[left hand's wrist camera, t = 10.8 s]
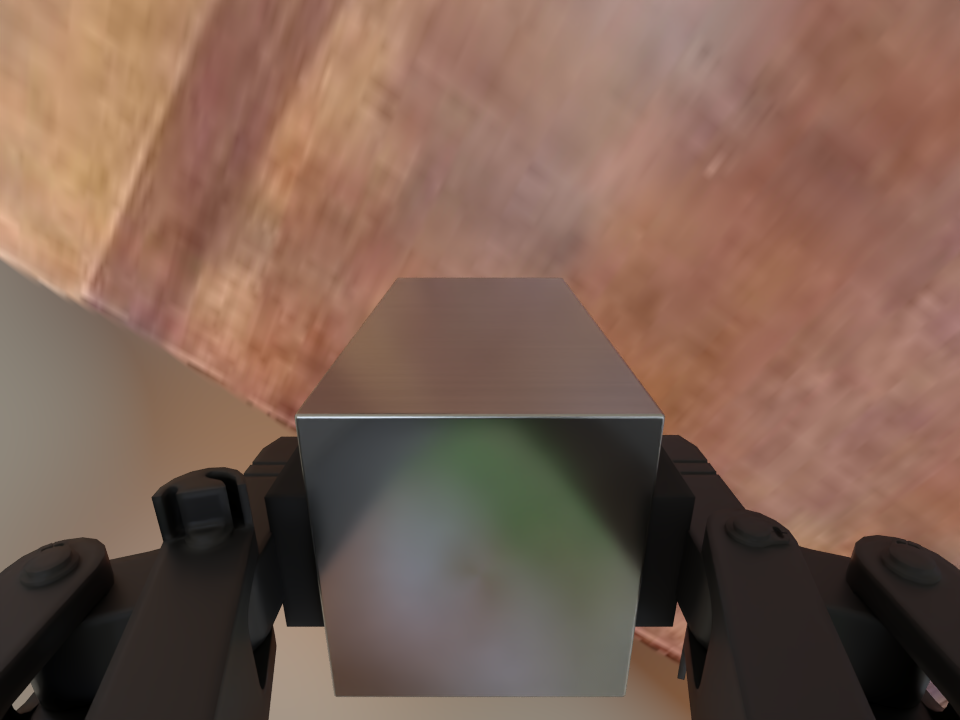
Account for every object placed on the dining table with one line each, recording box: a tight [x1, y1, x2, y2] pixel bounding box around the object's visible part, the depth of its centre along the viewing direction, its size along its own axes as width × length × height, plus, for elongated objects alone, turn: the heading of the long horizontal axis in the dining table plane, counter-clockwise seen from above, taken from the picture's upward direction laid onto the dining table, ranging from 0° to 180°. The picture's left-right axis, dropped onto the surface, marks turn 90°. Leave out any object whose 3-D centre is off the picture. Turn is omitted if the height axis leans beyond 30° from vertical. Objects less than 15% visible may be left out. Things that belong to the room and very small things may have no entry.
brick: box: [295, 278, 665, 697], centre depth 13 cm, size 5×6×10 cm
